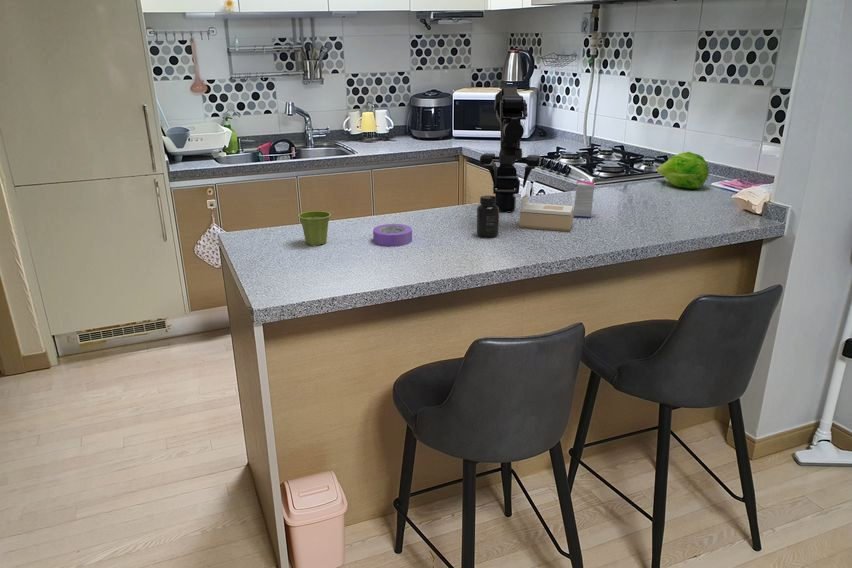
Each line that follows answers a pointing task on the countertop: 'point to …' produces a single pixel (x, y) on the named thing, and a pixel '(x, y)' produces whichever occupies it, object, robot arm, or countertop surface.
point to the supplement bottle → (487, 217)
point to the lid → (544, 208)
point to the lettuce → (685, 170)
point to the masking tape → (392, 235)
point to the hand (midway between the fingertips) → (509, 186)
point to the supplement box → (583, 199)
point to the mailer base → (546, 221)
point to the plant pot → (315, 226)
